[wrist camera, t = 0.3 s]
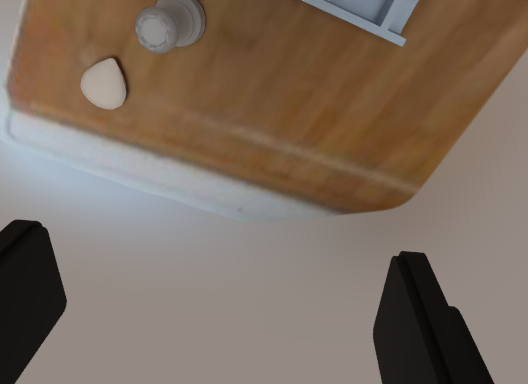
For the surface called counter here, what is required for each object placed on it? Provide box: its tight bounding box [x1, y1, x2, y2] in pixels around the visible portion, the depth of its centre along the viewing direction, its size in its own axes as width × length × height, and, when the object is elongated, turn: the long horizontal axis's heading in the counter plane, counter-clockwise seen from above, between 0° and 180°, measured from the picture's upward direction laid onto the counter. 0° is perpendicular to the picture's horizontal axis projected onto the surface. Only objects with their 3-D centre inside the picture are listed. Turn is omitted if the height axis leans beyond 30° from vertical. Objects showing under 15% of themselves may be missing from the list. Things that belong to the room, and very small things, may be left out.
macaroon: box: [80, 58, 127, 109], centre depth 37 cm, size 4×5×2 cm
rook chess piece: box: [135, 0, 206, 54], centre depth 31 cm, size 4×4×8 cm
